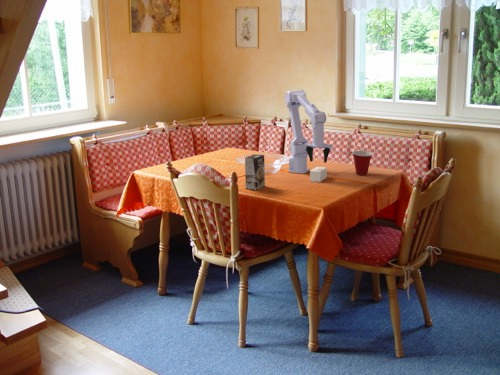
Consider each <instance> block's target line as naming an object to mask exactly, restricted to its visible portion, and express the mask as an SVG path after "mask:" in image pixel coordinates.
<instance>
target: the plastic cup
mask: <svg viewBox="0 0 500 375" xmlns="http://www.w3.org/2000/svg"><path fill="white" fill-rule="evenodd" d="M351 152H352V155H353V161H354V162H353V163H354V169H355V175H357V176H367V175H368V174H369V173H368V172H369V168H370V165H371V159H372V156H373V154H374V153H373V152H371V151H368V150H353V151H351Z"/></svg>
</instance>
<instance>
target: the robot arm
mask: <svg viewBox="0 0 500 375" xmlns="http://www.w3.org/2000/svg"><path fill="white" fill-rule="evenodd" d="M284 101H285V105H286V108H288V112H289V118H290V124H291V125H290V126H291V129H292V134H293V139H292V140H291V141H290V143H289V144H290V147H289V150H290V154H291V155H290V156H289V159H288V173H295V174H306V173H308V172H310V171H311V169H309V168H308V158H309V162H310V163H311V162H313V161H314V148H315V149H322V151H323V163H324V164H326V163H327V161H328V157H329V155H330V152H331V150H332V149H333V144H328V143H325V123H326V122H327V116H326V115H327V114H326V113H325V112H324V111H322V110H319V108H318V107H317V106H316V105H315V104H314V103H311V102H310V101H309V100H308V98H307V93H306V92H305V90H304V89H300V90H299V89H298V90H287V91H286V92H285V96H284ZM302 106H303V108H304V112H305V113H306V114H307V115H308V117H309V118H310V124H311V128H312V142H309V140H308V139H307V138H306V137H304V134H303V129H302V128H303V127H302V122H301V117H300V112H299V108H300V107H302Z"/></svg>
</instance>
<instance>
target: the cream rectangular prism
mask: <svg viewBox="0 0 500 375" xmlns="http://www.w3.org/2000/svg"><path fill="white" fill-rule="evenodd" d="M327 172H328V169H327V167H324V166H315V167H314V168H312V169H310V170H309V181H310V182H317V183H321V182H322V181H324V180H325V179H326V178H327V177H328V173H327Z"/></svg>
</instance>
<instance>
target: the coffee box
mask: <svg viewBox="0 0 500 375" xmlns="http://www.w3.org/2000/svg"><path fill="white" fill-rule="evenodd" d="M244 168H245V169H244V171H245V172H244V173H245V174H244V176H245V189H246V188H248V189H247V190H252V189H254V190H253V191H257V190H259V189H261V188H264V187H265V186H266V171H265V169H266V168H265V154H255V153H253V154H251V155H249V156H246V157H244ZM263 186H264V187H263ZM256 189H257V190H256Z"/></svg>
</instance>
